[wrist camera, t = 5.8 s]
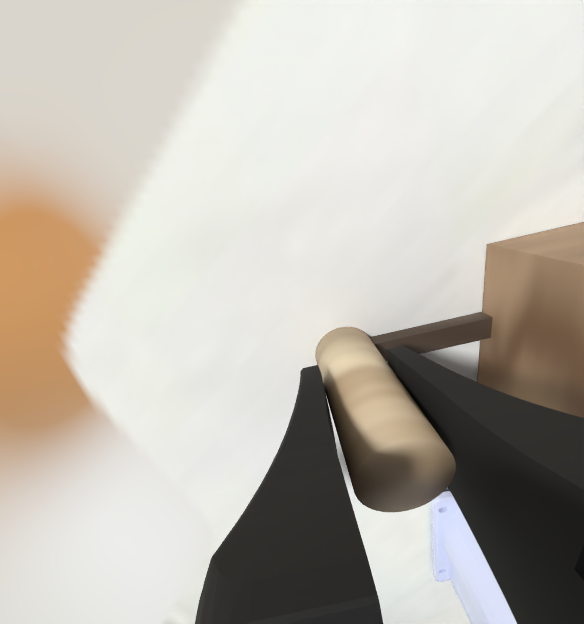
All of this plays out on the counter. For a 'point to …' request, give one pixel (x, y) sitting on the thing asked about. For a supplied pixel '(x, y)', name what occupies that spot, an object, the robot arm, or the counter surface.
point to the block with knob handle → (491, 372)
